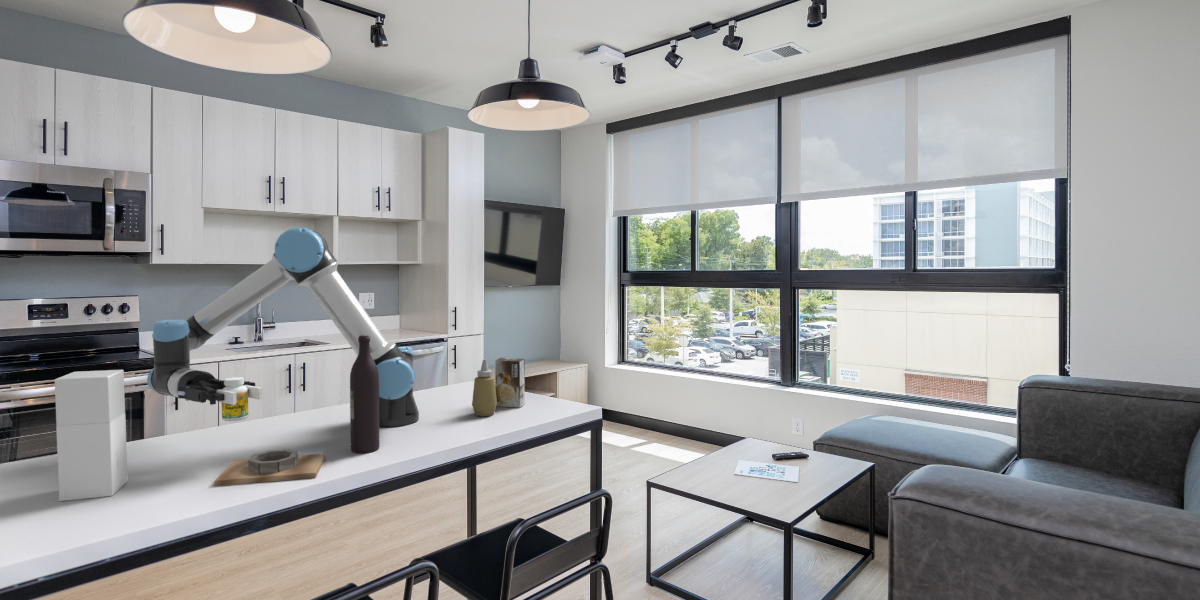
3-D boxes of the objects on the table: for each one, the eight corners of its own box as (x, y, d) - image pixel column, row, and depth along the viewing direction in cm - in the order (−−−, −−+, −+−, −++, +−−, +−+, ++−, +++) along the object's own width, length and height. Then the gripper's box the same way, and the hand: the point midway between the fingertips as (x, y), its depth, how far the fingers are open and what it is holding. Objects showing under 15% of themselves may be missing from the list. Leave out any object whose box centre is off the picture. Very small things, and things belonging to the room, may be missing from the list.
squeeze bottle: (494, 417, 190) (494, 362, 189) (469, 417, 190) (469, 361, 189) (499, 411, 198) (499, 357, 197) (474, 411, 198) (475, 357, 197)
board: (324, 458, 149) (324, 444, 149) (315, 477, 136) (315, 462, 135) (234, 464, 143) (233, 450, 143) (215, 486, 130) (214, 469, 129)
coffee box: (525, 403, 210) (525, 358, 209) (520, 407, 203) (520, 361, 202) (500, 402, 211) (500, 357, 210) (494, 406, 205) (494, 360, 204)
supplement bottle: (248, 414, 145) (247, 375, 144) (249, 419, 140) (248, 379, 140) (221, 417, 142) (220, 377, 141) (221, 422, 137) (220, 381, 137)
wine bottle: (366, 443, 161) (365, 333, 159) (385, 447, 158) (384, 335, 156) (344, 451, 155) (343, 336, 153) (364, 455, 152) (363, 338, 150)
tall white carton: (112, 496, 123) (108, 376, 122) (58, 501, 120) (53, 379, 118) (128, 481, 131) (124, 369, 130) (78, 486, 128) (73, 371, 127)
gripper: (231, 393, 158) (285, 404, 146) (151, 407, 141) (206, 421, 130) (230, 364, 157) (285, 373, 146) (150, 376, 141) (205, 387, 130)
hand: (247, 396), depth 138 cm, fingers closed on supplement bottle, 5 cm apart
